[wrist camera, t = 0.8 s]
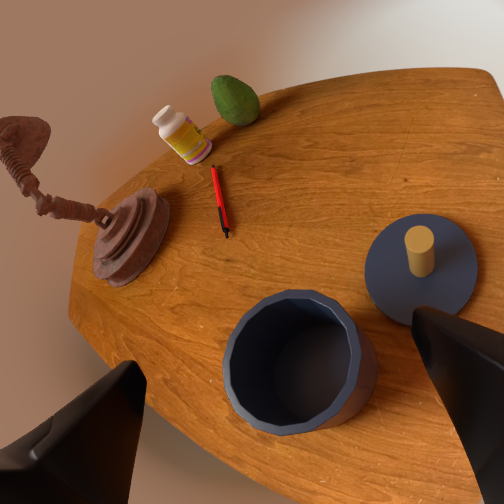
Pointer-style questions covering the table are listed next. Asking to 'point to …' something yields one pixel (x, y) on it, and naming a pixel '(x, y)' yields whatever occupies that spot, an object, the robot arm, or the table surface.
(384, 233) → the canister lid
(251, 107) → the fruit
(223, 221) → the pen
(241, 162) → the table surface
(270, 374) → the canister
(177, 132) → the supplement bottle
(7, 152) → the desk lamp
